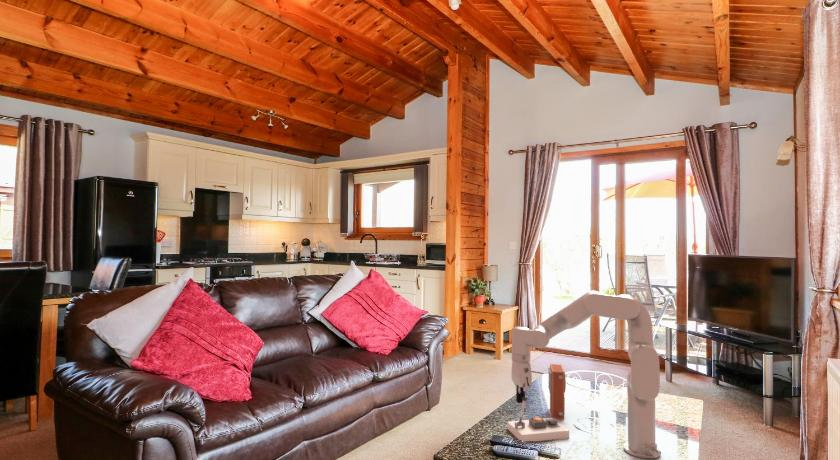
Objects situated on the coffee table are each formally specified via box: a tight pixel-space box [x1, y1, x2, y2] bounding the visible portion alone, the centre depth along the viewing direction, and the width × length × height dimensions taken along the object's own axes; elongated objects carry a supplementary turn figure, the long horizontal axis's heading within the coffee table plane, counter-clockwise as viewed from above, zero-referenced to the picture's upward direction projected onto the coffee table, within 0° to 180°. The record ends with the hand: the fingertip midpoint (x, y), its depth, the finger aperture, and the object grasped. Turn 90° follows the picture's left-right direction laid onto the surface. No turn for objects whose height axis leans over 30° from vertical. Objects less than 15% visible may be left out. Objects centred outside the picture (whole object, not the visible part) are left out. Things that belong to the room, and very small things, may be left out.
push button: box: [532, 416, 543, 422], centre depth 194 cm, size 4×4×2 cm
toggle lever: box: [517, 395, 528, 426], centre depth 190 cm, size 2×2×14 cm
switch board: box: [506, 416, 570, 443], centre depth 194 cm, size 14×21×6 cm, turn 103°
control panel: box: [547, 363, 567, 420], centre depth 216 cm, size 21×7×15 cm
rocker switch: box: [547, 419, 559, 424], centre depth 195 cm, size 4×3×1 cm
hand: (520, 401), depth 191 cm, fingers closed
